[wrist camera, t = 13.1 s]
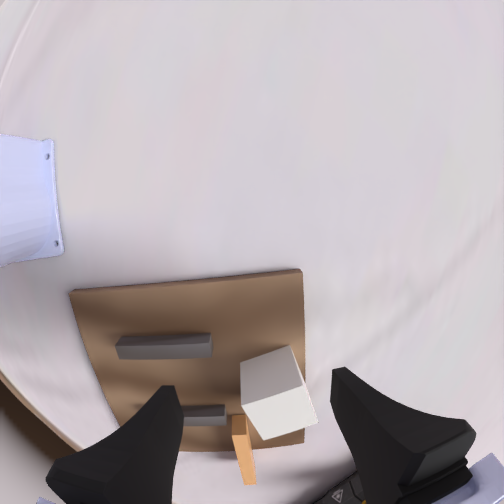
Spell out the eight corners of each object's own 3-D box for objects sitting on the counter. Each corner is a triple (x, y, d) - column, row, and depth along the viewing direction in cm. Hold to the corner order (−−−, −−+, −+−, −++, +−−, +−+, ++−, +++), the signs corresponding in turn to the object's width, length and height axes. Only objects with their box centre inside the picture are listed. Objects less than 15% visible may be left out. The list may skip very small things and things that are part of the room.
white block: (240, 362, 20) (241, 405, 16) (289, 344, 20) (303, 385, 15) (258, 397, 21) (263, 440, 16) (304, 381, 21) (318, 422, 16)
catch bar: (231, 415, 22) (231, 435, 19) (245, 414, 22) (246, 434, 19) (243, 467, 23) (244, 485, 21) (255, 466, 23) (256, 484, 21)
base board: (74, 289, 20) (59, 300, 17) (299, 268, 20) (307, 279, 18) (134, 441, 24) (128, 457, 21) (302, 436, 24) (306, 453, 22)
